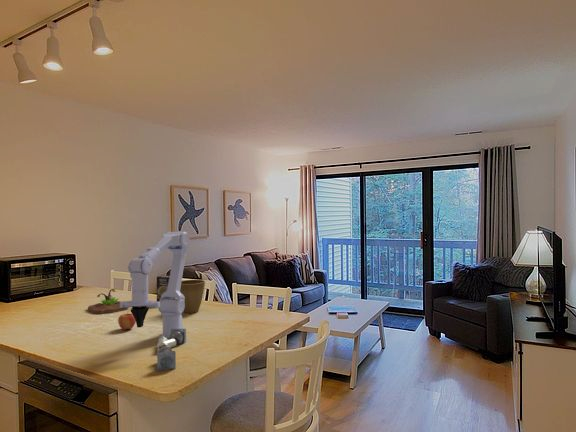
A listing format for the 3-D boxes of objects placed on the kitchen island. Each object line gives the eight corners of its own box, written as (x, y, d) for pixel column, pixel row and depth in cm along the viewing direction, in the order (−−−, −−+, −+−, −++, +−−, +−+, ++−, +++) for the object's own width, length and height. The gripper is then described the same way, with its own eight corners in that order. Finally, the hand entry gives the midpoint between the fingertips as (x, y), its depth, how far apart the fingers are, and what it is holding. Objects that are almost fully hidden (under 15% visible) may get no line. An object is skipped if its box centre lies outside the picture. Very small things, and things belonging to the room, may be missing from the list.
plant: (134, 309, 205) (134, 289, 205) (96, 316, 192) (96, 294, 192) (121, 304, 220) (121, 285, 220) (85, 309, 206) (85, 289, 206)
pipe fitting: (175, 346, 147) (157, 346, 145) (176, 336, 147) (158, 336, 145) (176, 353, 139) (157, 353, 137) (177, 342, 139) (158, 342, 137)
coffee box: (156, 304, 217) (156, 276, 217) (162, 302, 223) (162, 275, 223) (169, 305, 214) (169, 277, 214) (176, 303, 220) (176, 275, 220)
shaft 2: (172, 341, 150) (172, 328, 150) (186, 341, 150) (186, 328, 150) (168, 344, 146) (168, 331, 146) (182, 345, 146) (182, 331, 146)
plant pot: (203, 307, 209) (203, 278, 209) (206, 313, 195) (206, 283, 195) (175, 309, 204) (175, 280, 205) (176, 316, 190) (176, 284, 190)
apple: (116, 332, 163) (116, 314, 163) (119, 327, 170) (119, 310, 170) (134, 331, 165) (134, 312, 165) (136, 326, 172) (136, 309, 172)
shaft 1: (156, 362, 128) (156, 347, 128) (173, 360, 130) (173, 345, 131) (157, 371, 121) (157, 355, 121) (175, 368, 123) (175, 352, 123)
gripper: (115, 292, 136) (115, 329, 136) (155, 292, 135) (155, 330, 135) (124, 288, 143) (124, 324, 143) (162, 288, 142) (162, 324, 142)
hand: (140, 326), depth 139 cm, fingers closed
